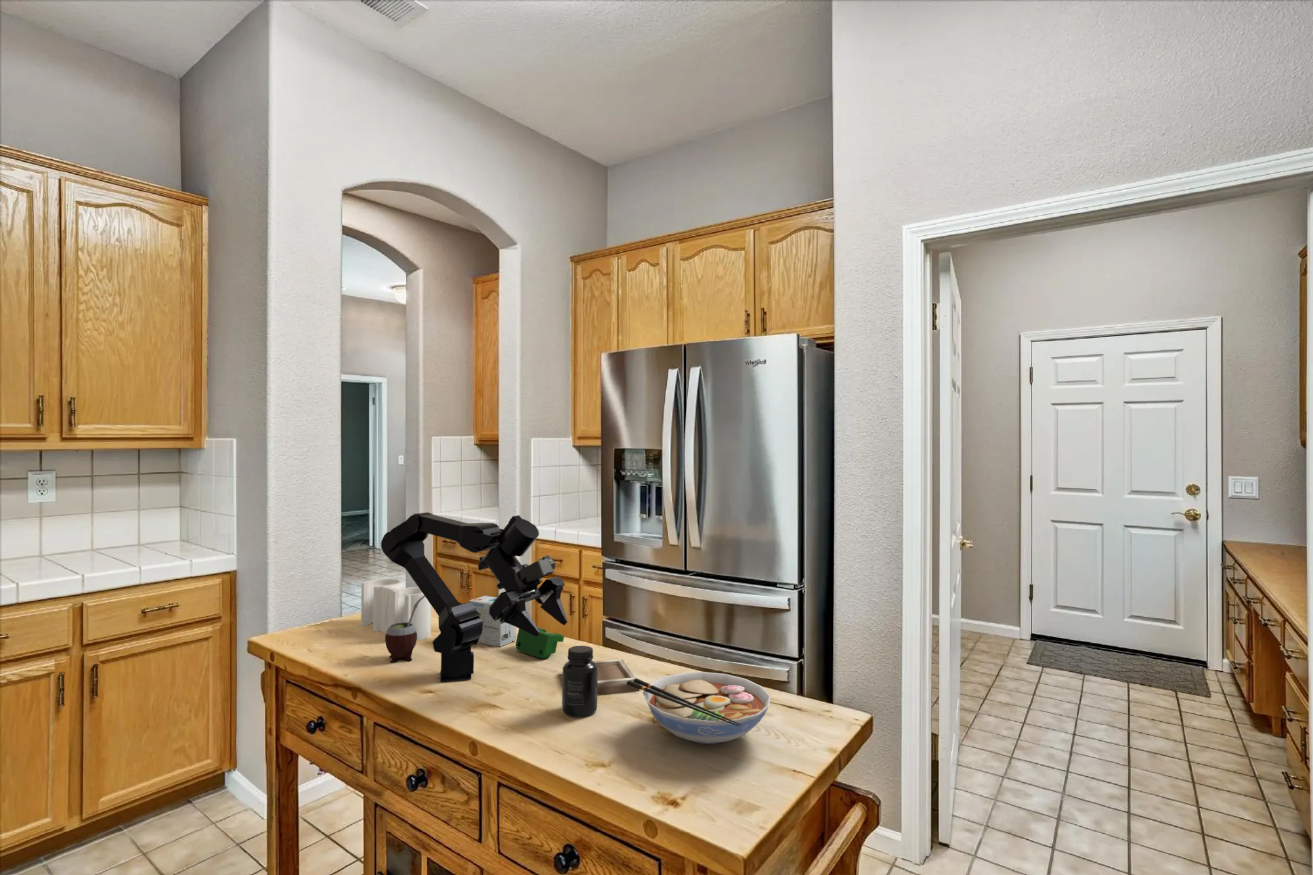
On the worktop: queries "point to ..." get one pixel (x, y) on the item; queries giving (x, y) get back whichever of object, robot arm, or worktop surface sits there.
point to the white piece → (394, 606)
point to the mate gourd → (402, 639)
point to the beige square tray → (614, 677)
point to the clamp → (538, 643)
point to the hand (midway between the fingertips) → (552, 629)
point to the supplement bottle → (579, 683)
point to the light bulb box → (493, 624)
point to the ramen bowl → (705, 705)
